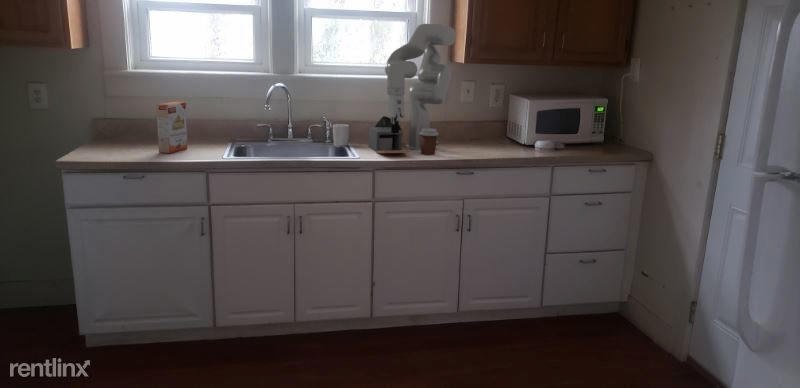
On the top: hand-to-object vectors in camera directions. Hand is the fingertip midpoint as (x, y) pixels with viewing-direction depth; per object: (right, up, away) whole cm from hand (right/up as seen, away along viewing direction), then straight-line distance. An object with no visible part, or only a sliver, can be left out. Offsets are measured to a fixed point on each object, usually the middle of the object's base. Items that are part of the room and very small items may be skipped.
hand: (395, 132), depth 266 cm
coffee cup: (+15, -9, +11) cm, 21 cm away
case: (-5, -7, +18) cm, 19 cm away
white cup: (-27, -4, +26) cm, 38 cm away
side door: (-3, -8, +10) cm, 13 cm away
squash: (-4, -3, +34) cm, 35 cm away
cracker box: (-97, -8, -3) cm, 97 cm away
